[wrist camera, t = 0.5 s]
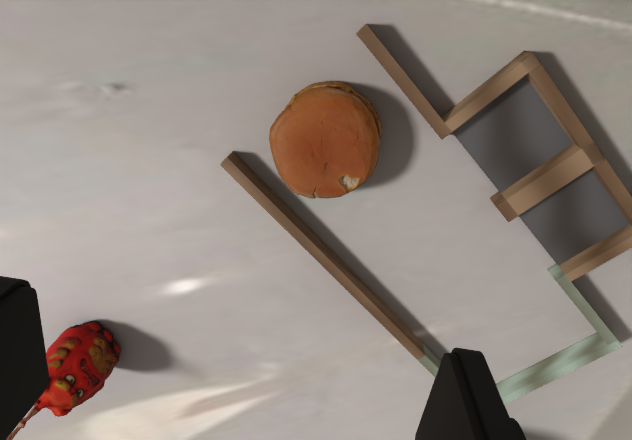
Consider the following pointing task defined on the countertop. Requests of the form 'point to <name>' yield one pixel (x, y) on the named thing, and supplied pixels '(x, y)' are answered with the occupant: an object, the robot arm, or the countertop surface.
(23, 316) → the robot arm
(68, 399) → the red clay folk toy
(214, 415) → the countertop surface
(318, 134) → the burger
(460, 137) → the box
